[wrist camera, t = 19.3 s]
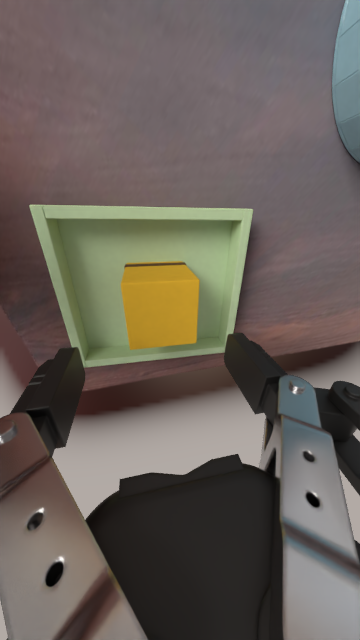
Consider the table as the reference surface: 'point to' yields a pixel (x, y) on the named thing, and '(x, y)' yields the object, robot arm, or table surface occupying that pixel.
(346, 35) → the bowl
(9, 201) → the table surface
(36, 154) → the table surface
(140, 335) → the block
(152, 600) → the robot arm
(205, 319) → the tray
